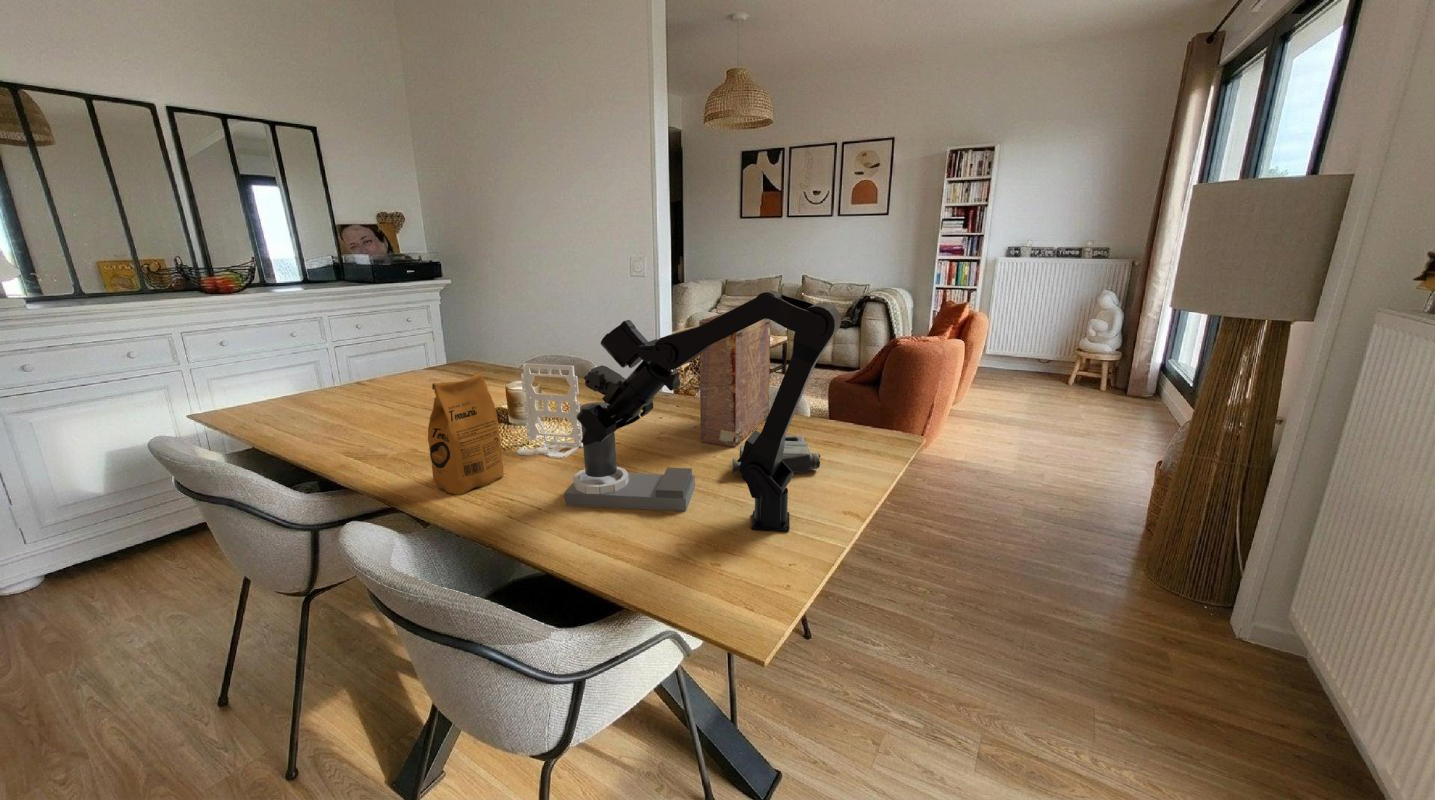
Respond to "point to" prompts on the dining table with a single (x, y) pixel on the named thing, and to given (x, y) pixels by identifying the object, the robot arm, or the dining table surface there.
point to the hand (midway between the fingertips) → (592, 438)
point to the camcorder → (792, 455)
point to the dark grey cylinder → (599, 452)
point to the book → (735, 384)
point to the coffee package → (464, 436)
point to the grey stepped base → (633, 490)
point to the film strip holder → (551, 412)
